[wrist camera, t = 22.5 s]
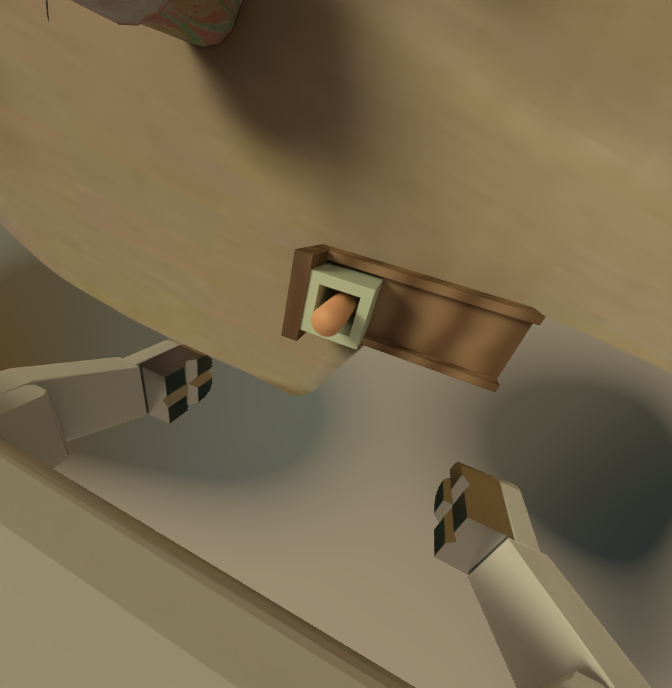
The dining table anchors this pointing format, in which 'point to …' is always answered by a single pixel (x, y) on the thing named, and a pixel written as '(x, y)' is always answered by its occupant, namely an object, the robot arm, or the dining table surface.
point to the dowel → (334, 313)
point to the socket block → (347, 282)
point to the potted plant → (172, 16)
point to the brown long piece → (423, 317)
